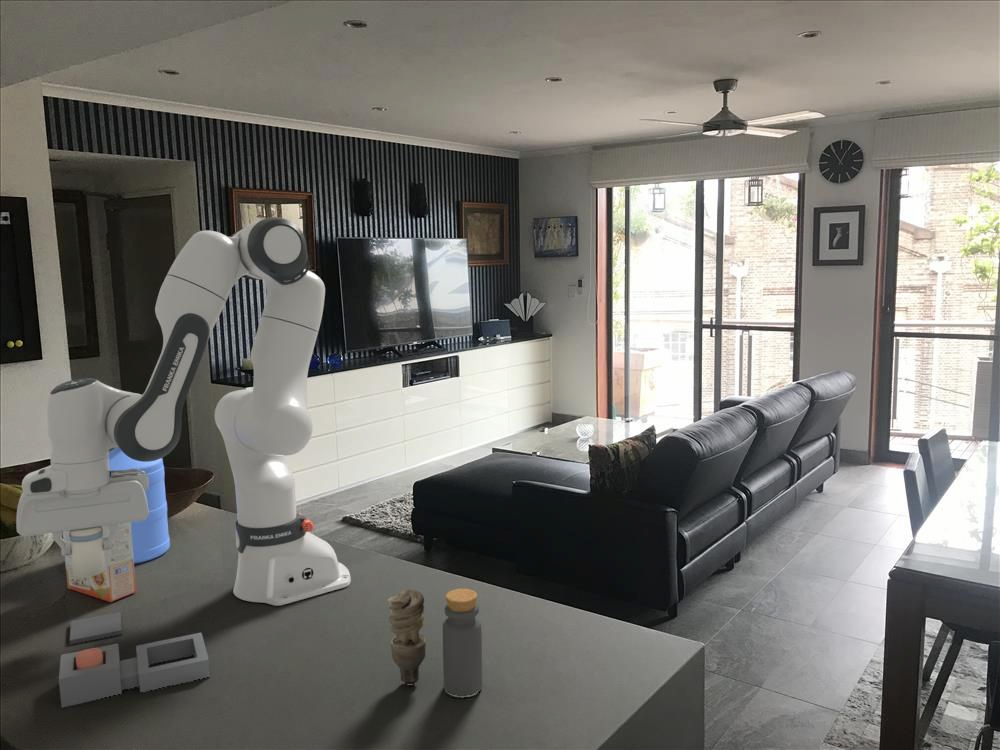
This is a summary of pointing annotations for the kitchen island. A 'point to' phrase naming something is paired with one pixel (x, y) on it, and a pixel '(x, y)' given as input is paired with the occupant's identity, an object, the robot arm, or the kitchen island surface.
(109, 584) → the cracker box
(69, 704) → the housing
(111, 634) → the pad
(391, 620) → the light bulb
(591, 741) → the kitchen island surface
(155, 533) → the water jug
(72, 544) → the cartridge
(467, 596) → the bottle
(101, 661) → the plunger
